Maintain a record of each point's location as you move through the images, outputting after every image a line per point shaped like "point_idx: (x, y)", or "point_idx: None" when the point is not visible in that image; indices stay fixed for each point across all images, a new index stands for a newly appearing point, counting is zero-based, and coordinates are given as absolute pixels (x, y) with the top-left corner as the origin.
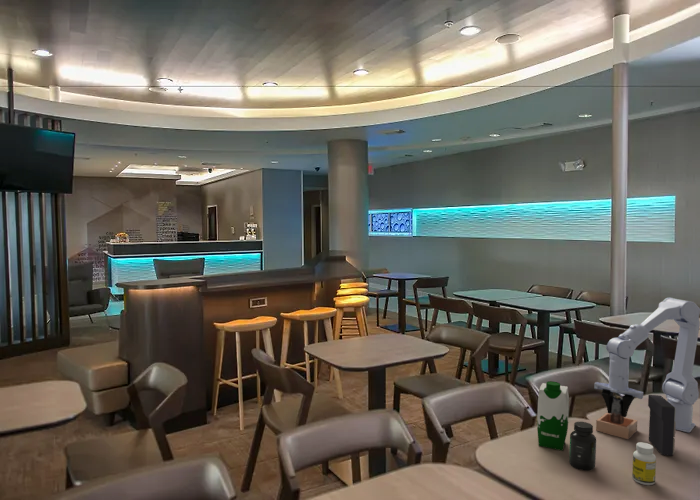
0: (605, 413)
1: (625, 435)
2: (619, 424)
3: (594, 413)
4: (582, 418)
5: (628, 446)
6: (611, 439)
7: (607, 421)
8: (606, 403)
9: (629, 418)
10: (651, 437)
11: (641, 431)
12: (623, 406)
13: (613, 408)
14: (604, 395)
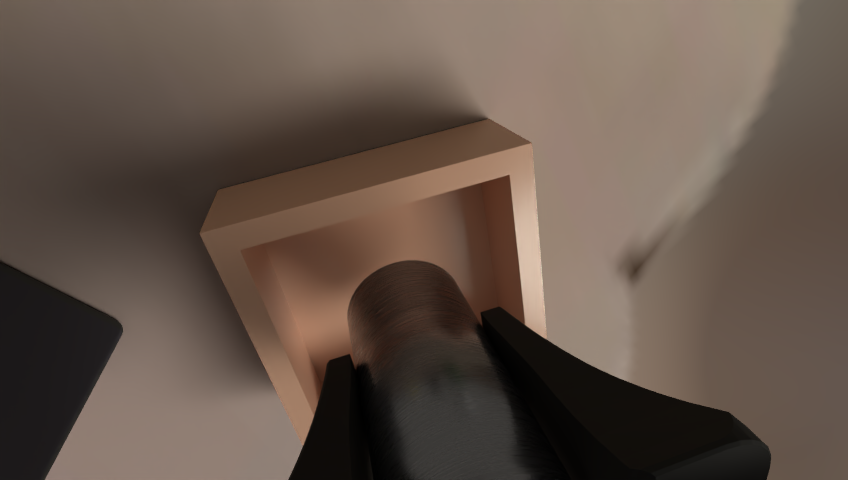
0: None
1: (238, 194)
2: None
3: (622, 377)
4: (651, 243)
5: (74, 20)
6: (291, 42)
7: None
8: (569, 362)
9: None
10: (31, 322)
11: (282, 407)
12: (344, 453)
13: (458, 356)
14: (682, 429)
